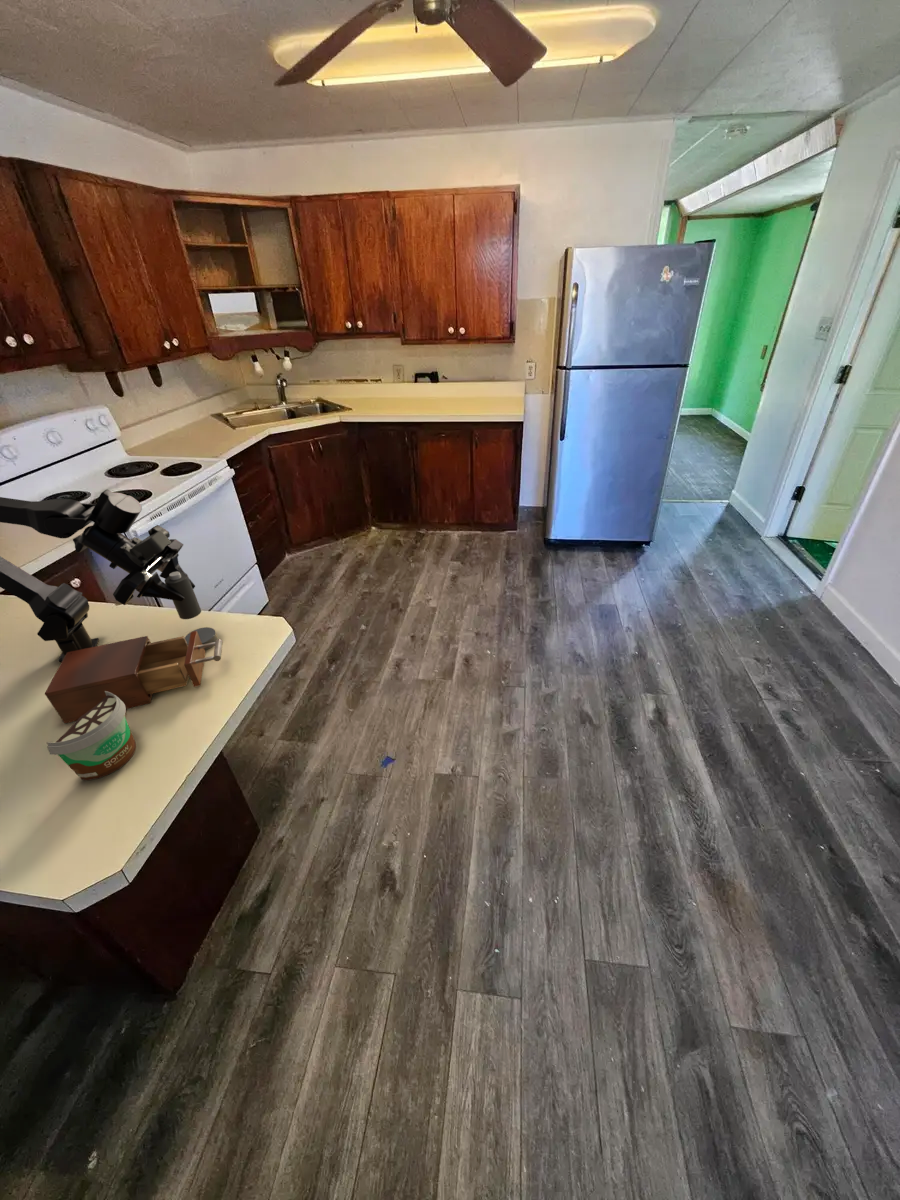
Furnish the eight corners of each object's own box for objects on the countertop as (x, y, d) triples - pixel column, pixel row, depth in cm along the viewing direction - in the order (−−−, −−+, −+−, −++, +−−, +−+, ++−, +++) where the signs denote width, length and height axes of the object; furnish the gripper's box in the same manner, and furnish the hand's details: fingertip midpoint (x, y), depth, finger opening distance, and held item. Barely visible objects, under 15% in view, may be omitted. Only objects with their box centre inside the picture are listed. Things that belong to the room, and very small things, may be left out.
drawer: (228, 647, 106) (220, 625, 103) (225, 679, 97) (216, 657, 94) (137, 667, 102) (125, 645, 99) (125, 703, 93) (112, 680, 89)
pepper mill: (180, 610, 106) (164, 570, 101) (202, 606, 107) (187, 567, 102) (178, 621, 103) (160, 580, 97) (200, 616, 104) (184, 576, 99)
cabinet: (161, 663, 104) (147, 635, 100) (150, 703, 94) (134, 673, 90) (84, 680, 100) (66, 652, 96) (64, 723, 90) (44, 693, 86)
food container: (106, 792, 77) (77, 750, 71) (74, 787, 78) (43, 745, 72) (160, 733, 87) (137, 692, 81) (130, 729, 88) (107, 688, 83)
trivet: (188, 638, 111) (185, 631, 110) (219, 631, 113) (216, 624, 112) (185, 654, 106) (181, 647, 105) (217, 647, 108) (214, 640, 107)
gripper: (102, 542, 86) (184, 593, 91) (158, 503, 101) (225, 549, 107) (80, 581, 90) (159, 628, 96) (137, 538, 106) (202, 580, 111)
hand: (188, 593), depth 102 cm, fingers closed on pepper mill, 4 cm apart
